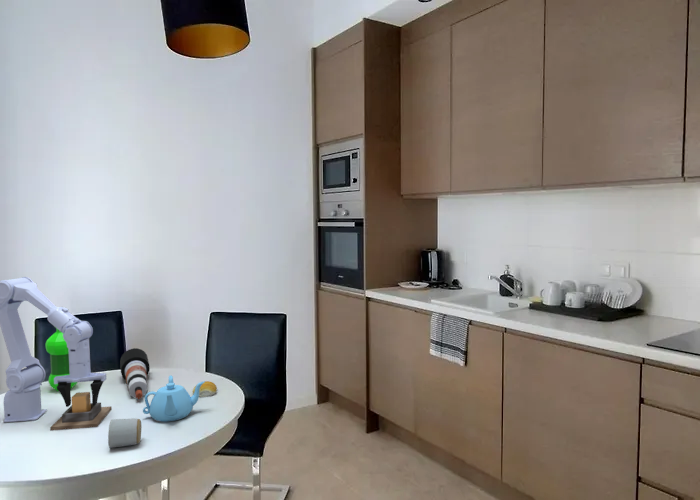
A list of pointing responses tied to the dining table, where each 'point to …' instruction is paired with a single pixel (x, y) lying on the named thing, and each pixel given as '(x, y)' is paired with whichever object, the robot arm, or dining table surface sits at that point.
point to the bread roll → (206, 389)
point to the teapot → (171, 402)
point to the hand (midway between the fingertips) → (81, 404)
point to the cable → (135, 371)
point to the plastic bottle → (58, 357)
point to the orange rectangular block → (81, 402)
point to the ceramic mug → (124, 432)
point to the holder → (81, 418)
